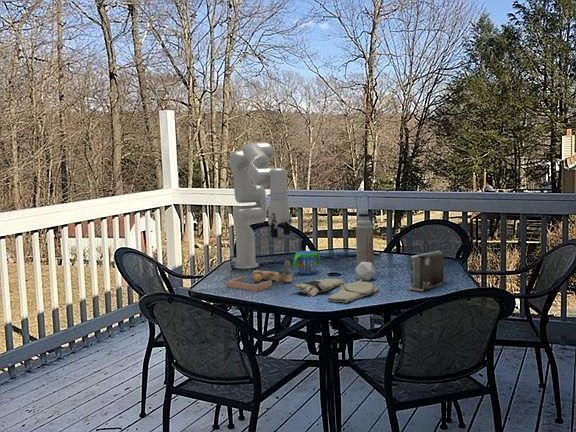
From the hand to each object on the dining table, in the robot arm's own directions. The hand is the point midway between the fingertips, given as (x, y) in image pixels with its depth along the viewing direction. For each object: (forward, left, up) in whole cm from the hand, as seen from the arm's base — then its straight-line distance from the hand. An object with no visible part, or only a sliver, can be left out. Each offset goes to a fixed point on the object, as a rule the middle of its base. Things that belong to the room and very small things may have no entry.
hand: (280, 235), depth 248 cm
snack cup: (-3, +25, -22) cm, 33 cm away
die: (+28, +25, -22) cm, 43 cm away
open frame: (-12, -8, -22) cm, 26 cm away
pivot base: (-4, +5, -22) cm, 23 cm away
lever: (-9, +5, -21) cm, 23 cm away
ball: (-14, 0, -22) cm, 26 cm away
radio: (+57, +25, -22) cm, 66 cm away
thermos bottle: (+22, +37, -22) cm, 48 cm away
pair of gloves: (+28, -1, -23) cm, 36 cm away
